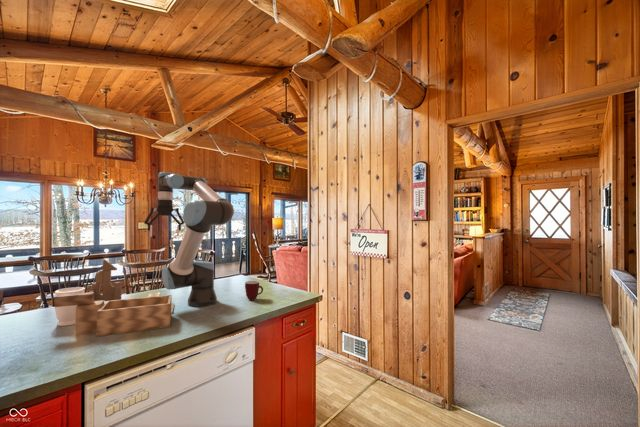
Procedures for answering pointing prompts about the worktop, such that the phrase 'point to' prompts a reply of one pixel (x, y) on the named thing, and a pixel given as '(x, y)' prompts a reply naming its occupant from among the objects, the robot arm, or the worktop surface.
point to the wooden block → (74, 299)
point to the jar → (67, 307)
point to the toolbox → (123, 315)
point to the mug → (252, 289)
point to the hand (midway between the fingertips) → (164, 236)
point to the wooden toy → (106, 284)
